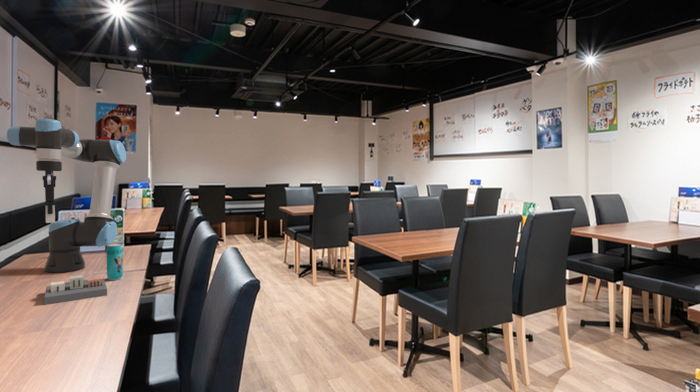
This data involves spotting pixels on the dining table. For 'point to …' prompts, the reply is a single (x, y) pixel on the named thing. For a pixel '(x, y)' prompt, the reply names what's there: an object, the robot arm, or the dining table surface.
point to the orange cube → (94, 282)
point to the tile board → (75, 293)
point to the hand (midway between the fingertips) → (50, 222)
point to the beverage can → (114, 262)
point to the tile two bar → (76, 282)
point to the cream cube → (58, 286)
